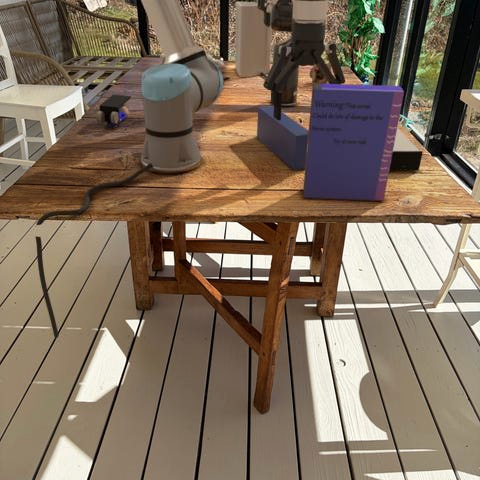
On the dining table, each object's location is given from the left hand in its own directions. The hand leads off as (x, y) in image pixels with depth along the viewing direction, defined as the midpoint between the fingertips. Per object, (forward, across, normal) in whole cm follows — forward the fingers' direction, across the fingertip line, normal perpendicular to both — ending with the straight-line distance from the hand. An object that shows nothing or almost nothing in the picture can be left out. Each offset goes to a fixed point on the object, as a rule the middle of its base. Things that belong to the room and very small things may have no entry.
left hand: (302, 116), depth 117 cm
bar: (+13, 0, -11) cm, 16 cm away
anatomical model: (+12, -45, -78) cm, 91 cm away
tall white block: (+12, -27, -107) cm, 111 cm away
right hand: (-16, -9, -36) cm, 40 cm away
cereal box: (+13, -2, +19) cm, 23 cm away
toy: (+11, -3, -124) cm, 125 cm away
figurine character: (+12, +41, -48) cm, 64 cm away
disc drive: (+13, -22, 0) cm, 26 cm away
